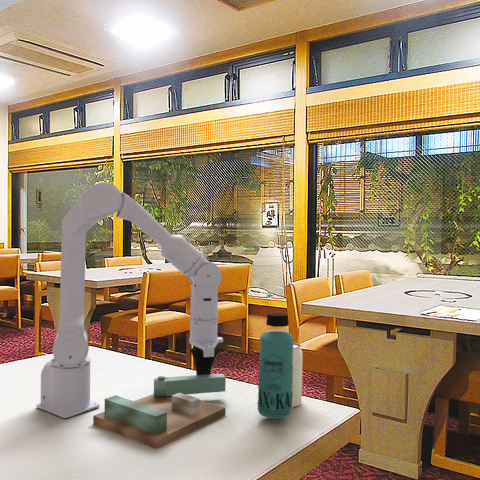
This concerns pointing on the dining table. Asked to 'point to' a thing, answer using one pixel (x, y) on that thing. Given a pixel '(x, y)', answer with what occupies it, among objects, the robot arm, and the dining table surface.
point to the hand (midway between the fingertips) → (203, 382)
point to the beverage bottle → (275, 369)
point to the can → (297, 375)
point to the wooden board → (157, 417)
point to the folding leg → (189, 384)
